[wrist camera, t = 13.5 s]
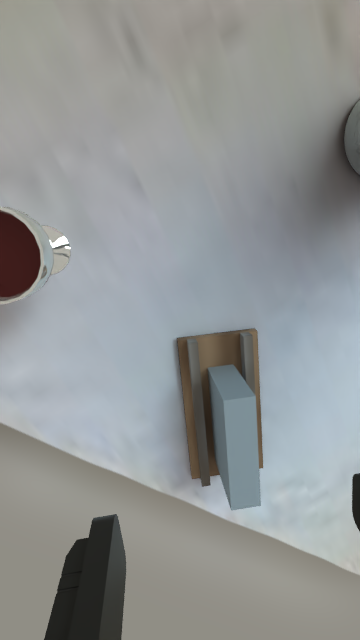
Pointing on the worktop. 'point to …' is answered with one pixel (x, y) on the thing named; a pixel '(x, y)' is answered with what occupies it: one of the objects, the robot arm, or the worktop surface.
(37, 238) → the wineglass
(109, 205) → the worktop surface
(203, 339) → the door track
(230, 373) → the door panel
